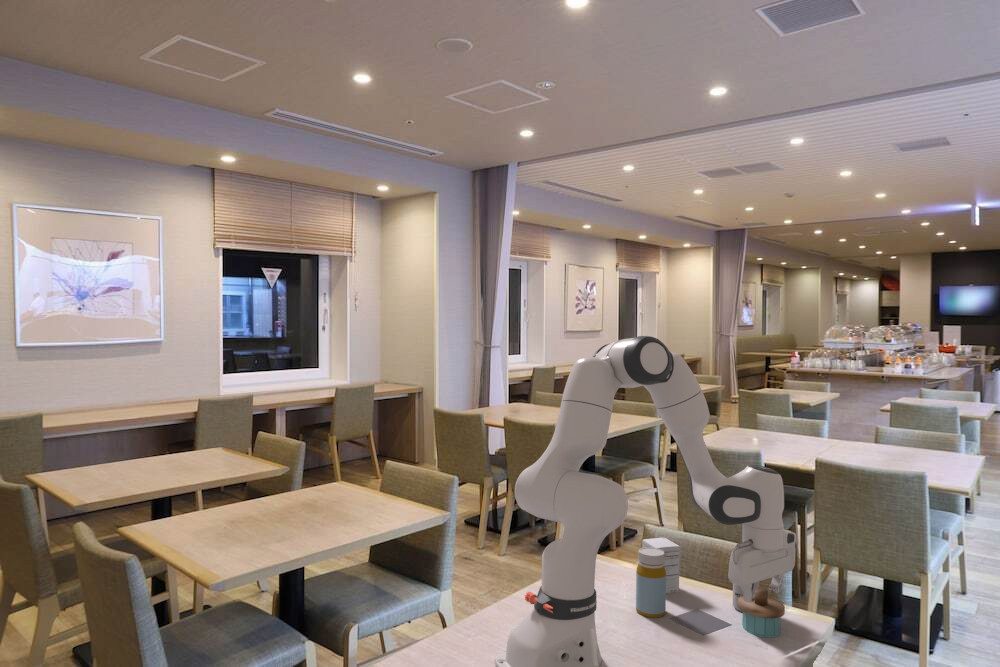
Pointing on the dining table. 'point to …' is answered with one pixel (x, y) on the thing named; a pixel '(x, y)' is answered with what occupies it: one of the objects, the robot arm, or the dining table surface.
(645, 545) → the supplement box
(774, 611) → the lid
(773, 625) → the teal faceted cup
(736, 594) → the energy drink can
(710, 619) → the mat
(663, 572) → the bottle
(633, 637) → the dining table surface
